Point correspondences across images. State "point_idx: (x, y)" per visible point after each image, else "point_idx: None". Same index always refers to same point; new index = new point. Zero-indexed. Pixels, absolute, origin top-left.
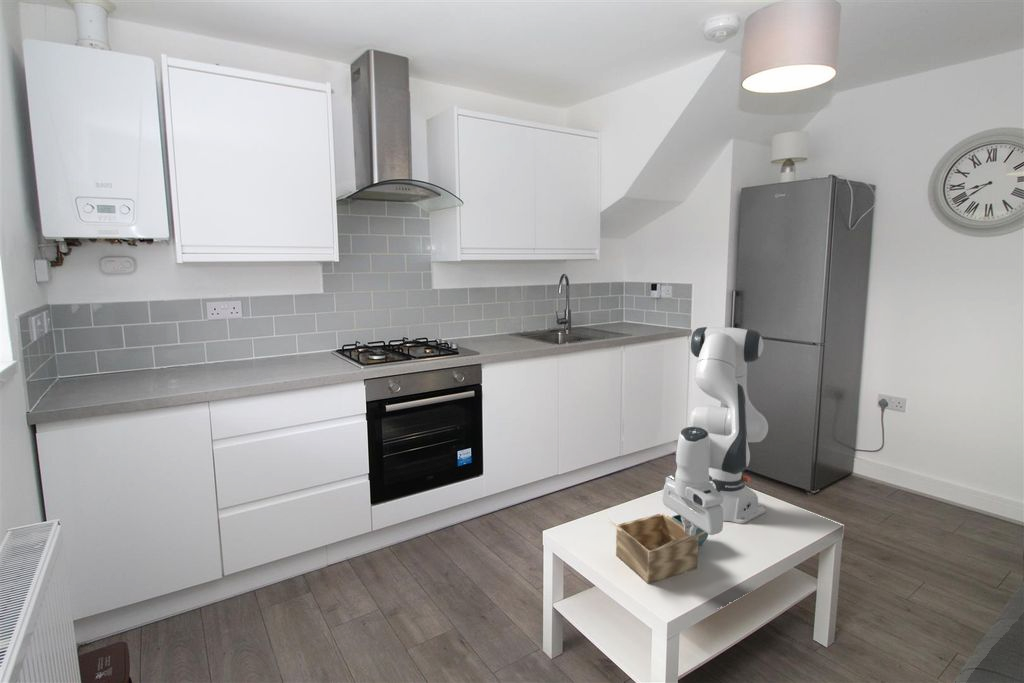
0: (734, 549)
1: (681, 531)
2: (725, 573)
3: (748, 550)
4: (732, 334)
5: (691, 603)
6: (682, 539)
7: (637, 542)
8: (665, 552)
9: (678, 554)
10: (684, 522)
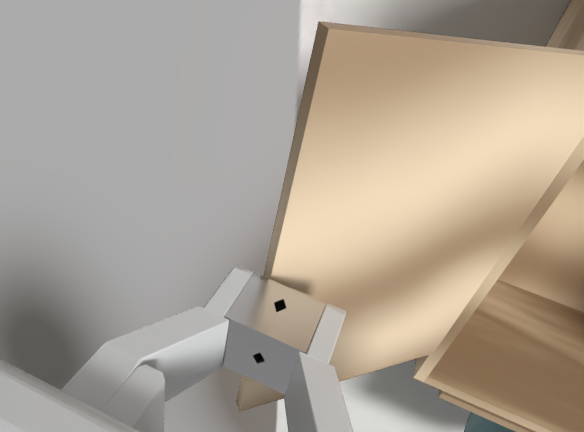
0: (385, 406)
1: (556, 409)
2: None
3: (351, 414)
4: None
5: (310, 5)
6: (300, 187)
7: None
8: None
9: None
10: (308, 411)
